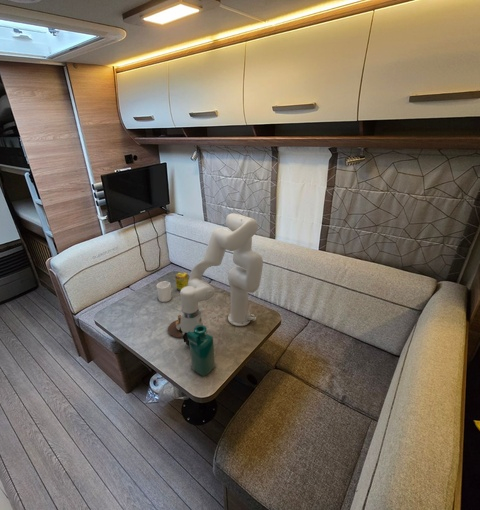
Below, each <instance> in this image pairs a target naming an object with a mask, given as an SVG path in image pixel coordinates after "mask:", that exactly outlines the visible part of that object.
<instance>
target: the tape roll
mask: <svg viewBox="0 0 480 510" xmlns="http://www.w3.org/2000/svg"><path fill="white" fill-rule="evenodd" d="M185 340H186V342H185V344H186V346H187V347H189V348H190V344H189V340H188V337H187V333H186V335H185Z"/></svg>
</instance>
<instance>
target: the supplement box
mask: <svg viewBox="0 0 480 510" xmlns="http://www.w3.org/2000/svg"><path fill="white" fill-rule="evenodd" d="M188 275H189V274H188V272H181V271H179V272H177V274H175V285H176V291H181V289H182V288H184V287H186V286H188V280H189V278H188V277H189V276H188Z"/></svg>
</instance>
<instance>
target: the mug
mask: <svg viewBox="0 0 480 510" xmlns="http://www.w3.org/2000/svg"><path fill="white" fill-rule="evenodd" d="M155 287H156V294H157V298H158V301H159V302H161V303H167V302H169V301H171V299H172V291H171V290H172V284H171V282H169V281H160V282H158V283H156V285H155Z"/></svg>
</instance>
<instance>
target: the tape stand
mask: <svg viewBox="0 0 480 510" xmlns="http://www.w3.org/2000/svg"><path fill="white" fill-rule="evenodd" d="M180 323H181V314H179V315H177V320H174V321H172V322H171V323H170V324H169V326H168V328H167V330H168V331H167V332H168V334H169V335H170V336H171V337H173V338H176V339H183V336H182V335H181V333H180V332H179V330H178V329H177V328H176V326H177V325H178V324H180Z"/></svg>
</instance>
